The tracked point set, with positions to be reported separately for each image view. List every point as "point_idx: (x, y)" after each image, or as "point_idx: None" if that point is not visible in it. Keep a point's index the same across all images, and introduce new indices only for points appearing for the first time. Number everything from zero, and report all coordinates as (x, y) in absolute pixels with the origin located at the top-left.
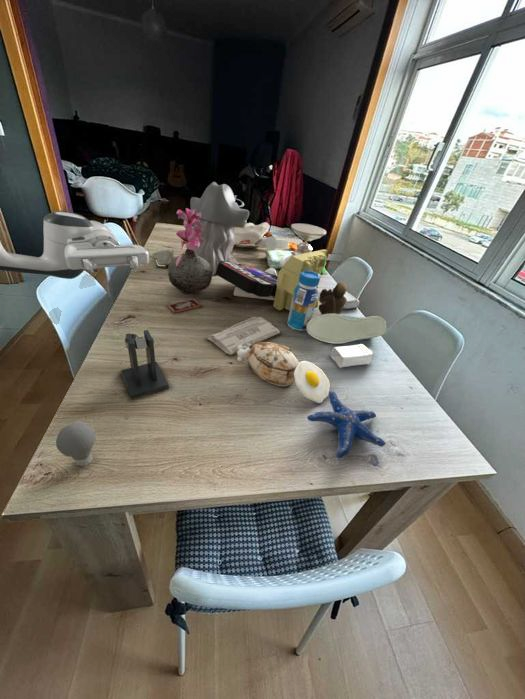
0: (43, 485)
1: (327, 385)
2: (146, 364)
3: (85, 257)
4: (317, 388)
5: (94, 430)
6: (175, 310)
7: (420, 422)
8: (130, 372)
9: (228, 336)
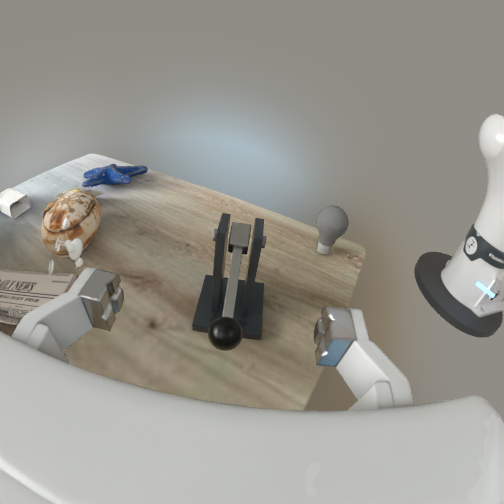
0: (351, 252)
1: None
2: None
3: (400, 407)
4: None
5: (318, 217)
6: None
7: (70, 169)
8: (248, 322)
9: (40, 295)
